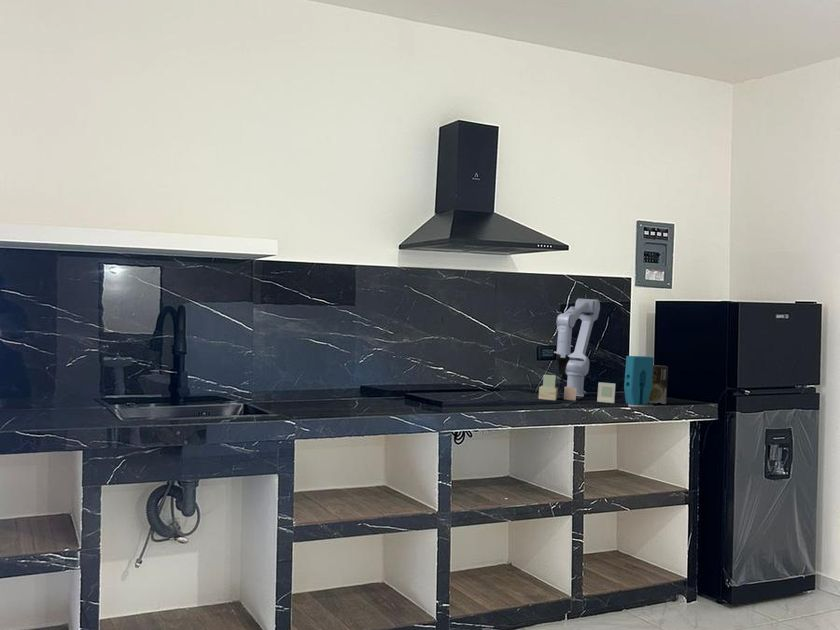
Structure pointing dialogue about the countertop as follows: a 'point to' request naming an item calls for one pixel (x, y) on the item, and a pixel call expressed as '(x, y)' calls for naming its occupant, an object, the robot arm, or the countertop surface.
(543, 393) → the base block
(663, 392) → the coffee box
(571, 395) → the pink cube
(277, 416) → the countertop surface
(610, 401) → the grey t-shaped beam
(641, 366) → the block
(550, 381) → the sage cube
